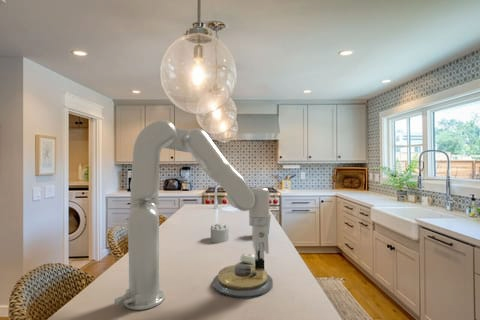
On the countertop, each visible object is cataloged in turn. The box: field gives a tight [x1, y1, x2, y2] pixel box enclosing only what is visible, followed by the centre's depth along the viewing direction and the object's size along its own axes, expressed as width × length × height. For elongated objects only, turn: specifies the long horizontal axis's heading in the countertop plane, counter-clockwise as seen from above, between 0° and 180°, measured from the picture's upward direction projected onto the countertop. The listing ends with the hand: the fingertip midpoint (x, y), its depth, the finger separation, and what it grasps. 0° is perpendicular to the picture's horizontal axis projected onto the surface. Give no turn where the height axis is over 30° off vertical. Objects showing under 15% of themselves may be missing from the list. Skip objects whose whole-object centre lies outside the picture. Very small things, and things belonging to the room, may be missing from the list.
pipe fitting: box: [239, 253, 256, 266], centre depth 131 cm, size 8×4×7 cm
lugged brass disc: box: [217, 264, 268, 291], centre depth 108 cm, size 18×18×6 cm
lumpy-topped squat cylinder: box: [210, 223, 230, 244], centre depth 170 cm, size 10×13×9 cm
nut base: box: [212, 273, 274, 299], centre depth 108 cm, size 22×22×3 cm
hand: (259, 270), depth 108 cm, fingers closed
